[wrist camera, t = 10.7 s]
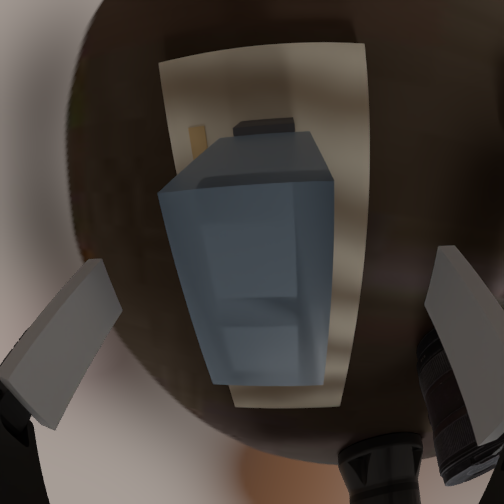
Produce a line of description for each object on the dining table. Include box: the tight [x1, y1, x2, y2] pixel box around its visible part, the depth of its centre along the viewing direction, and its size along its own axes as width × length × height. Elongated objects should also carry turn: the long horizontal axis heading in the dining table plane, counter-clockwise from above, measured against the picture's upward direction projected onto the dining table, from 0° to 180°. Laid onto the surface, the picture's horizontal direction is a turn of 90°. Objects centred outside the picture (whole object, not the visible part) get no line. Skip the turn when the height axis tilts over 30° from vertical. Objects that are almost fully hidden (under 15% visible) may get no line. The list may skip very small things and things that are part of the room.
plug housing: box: [157, 131, 334, 386], centre depth 13 cm, size 8×4×8 cm, turn 6°
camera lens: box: [417, 328, 504, 486], centre depth 20 cm, size 8×8×15 cm
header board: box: [159, 42, 370, 408], centre depth 20 cm, size 34×12×9 cm, turn 6°
